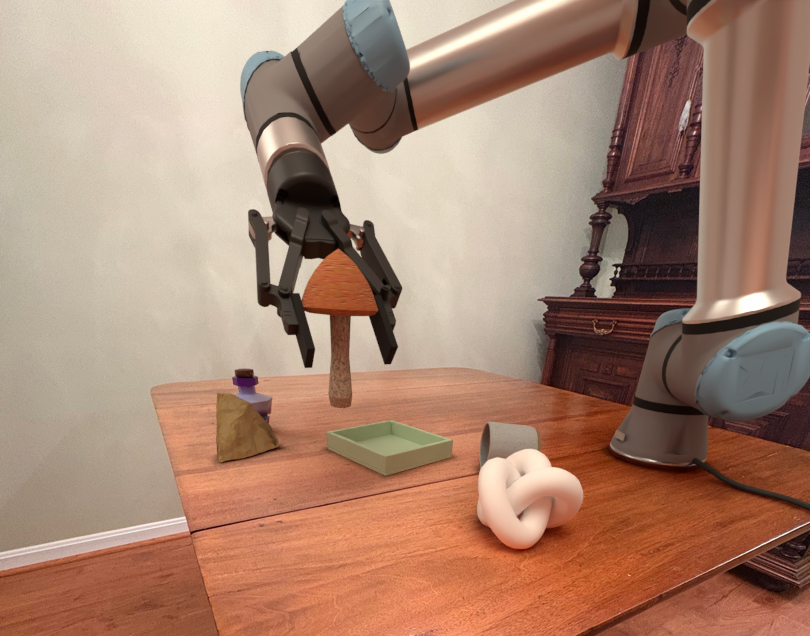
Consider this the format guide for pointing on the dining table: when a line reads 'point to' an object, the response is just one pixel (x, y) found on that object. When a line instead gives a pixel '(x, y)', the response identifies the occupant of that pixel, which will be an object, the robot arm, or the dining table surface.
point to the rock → (241, 429)
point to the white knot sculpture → (525, 497)
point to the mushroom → (339, 314)
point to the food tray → (389, 446)
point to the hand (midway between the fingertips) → (352, 357)
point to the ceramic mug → (506, 440)
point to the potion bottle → (252, 392)
